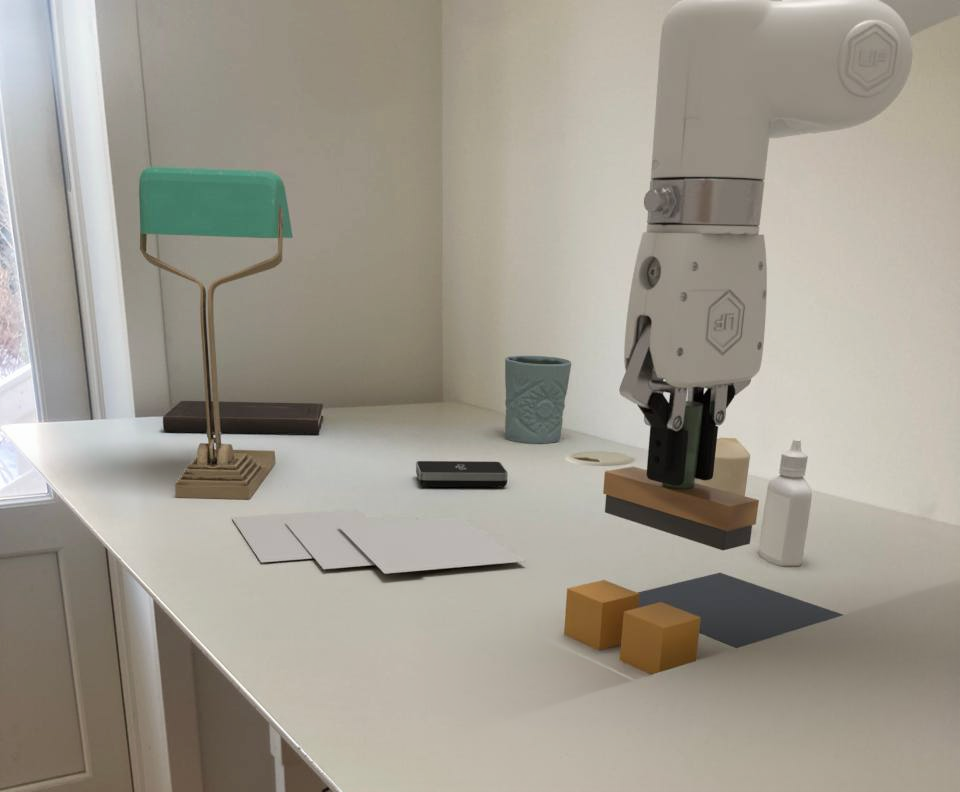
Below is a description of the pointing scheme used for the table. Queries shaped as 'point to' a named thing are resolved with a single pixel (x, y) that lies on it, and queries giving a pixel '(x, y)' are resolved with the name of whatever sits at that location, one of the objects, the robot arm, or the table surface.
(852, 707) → the table surface
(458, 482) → the external hard drive
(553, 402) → the embossed green cup
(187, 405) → the hardcover book
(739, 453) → the candle
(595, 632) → the cube
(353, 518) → the paper stack
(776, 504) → the eye dropper bottle
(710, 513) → the brush
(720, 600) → the mat
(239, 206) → the banker's lamp
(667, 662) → the cube
